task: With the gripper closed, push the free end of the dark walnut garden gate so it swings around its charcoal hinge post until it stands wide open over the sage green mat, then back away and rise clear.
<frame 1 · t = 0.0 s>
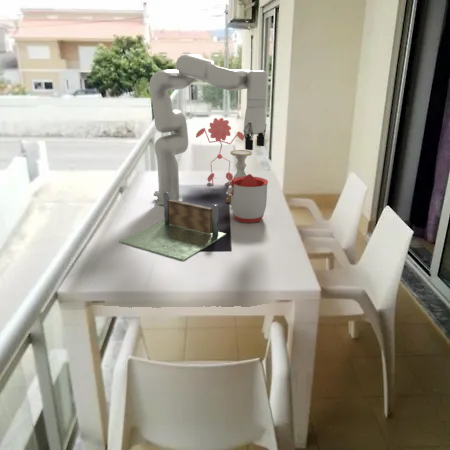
hand: (254, 147, 176), 31 cm above the table, tool pointing down, fingers open, 9 cm apart
citrus juicer: (246, 219, 189), on the table
figurine: (219, 181, 245), on the table
candle holder: (240, 201, 213), on the table
gate: (190, 216, 173), point 6 cm above the table, hinge at 0.0°
gate frame: (167, 224, 181), on the table
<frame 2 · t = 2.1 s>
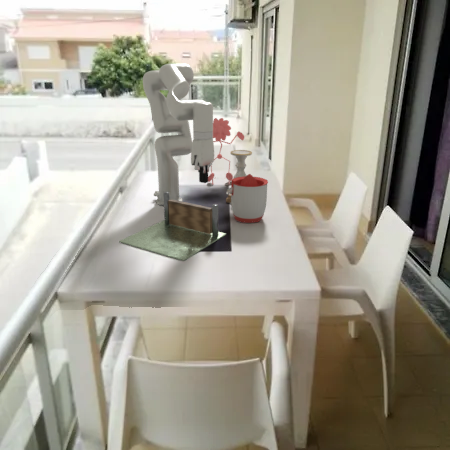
hand: (203, 182, 173), 19 cm above the table, tool pointing down, fingers closed
nothing on the table moved.
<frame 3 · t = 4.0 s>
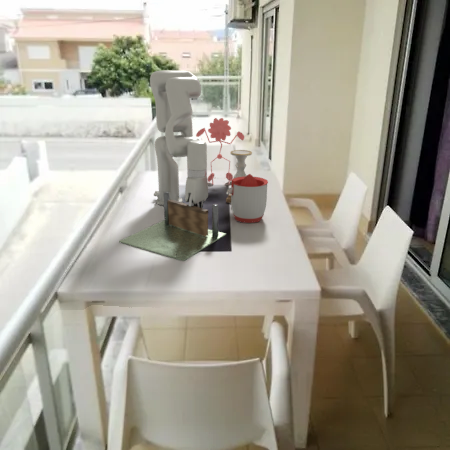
hand: (197, 217, 175), 5 cm above the table, tool pointing down, fingers closed
gate: (187, 217, 172), point 6 cm above the table, hinge at 7.7°, touching gripper
everything else where it was.
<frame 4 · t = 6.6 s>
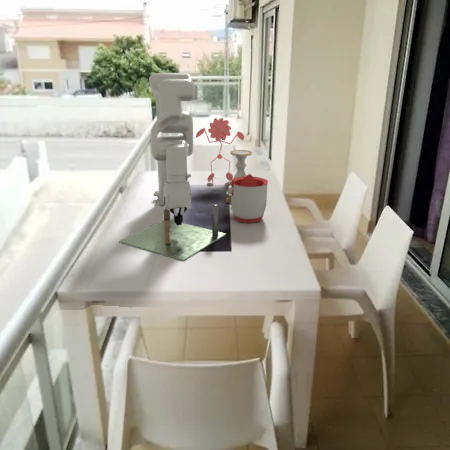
hand: (178, 224, 168), 5 cm above the table, tool pointing down, fingers closed
gate: (167, 221, 168), point 6 cm above the table, hinge at 51.4°, touching gripper
everything else where it was.
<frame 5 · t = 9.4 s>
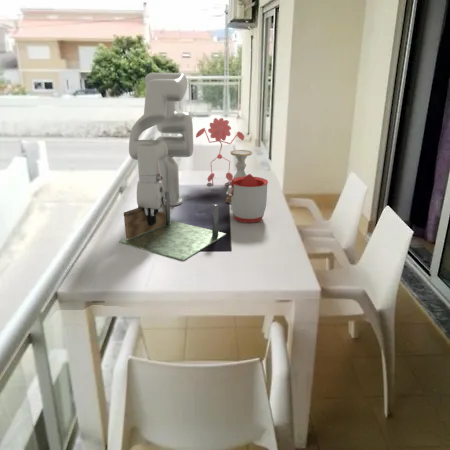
hand: (151, 224, 167), 5 cm above the table, tool pointing down, fingers closed
gate: (146, 218, 170), point 6 cm above the table, hinge at 95.8°, touching gripper
everything else where it was.
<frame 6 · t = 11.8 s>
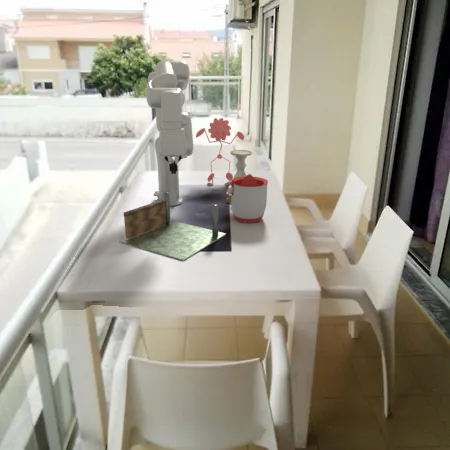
hand: (173, 172, 169), 23 cm above the table, tool pointing down, fingers closed
gate: (146, 218, 170), point 6 cm above the table, hinge at 95.8°
everything else where it was.
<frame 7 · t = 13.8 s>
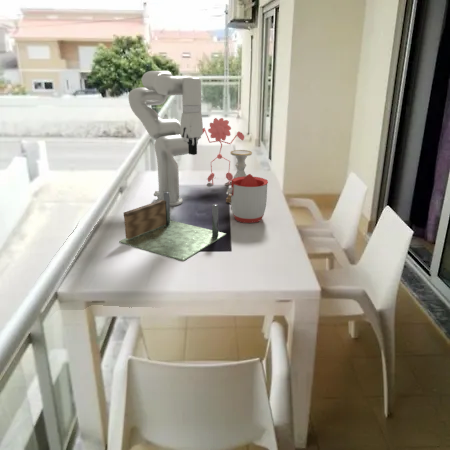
hand: (192, 154, 183), 27 cm above the table, tool pointing down, fingers closed
nothing on the table moved.
at the end: gate at +96° (first picture: +0°) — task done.
